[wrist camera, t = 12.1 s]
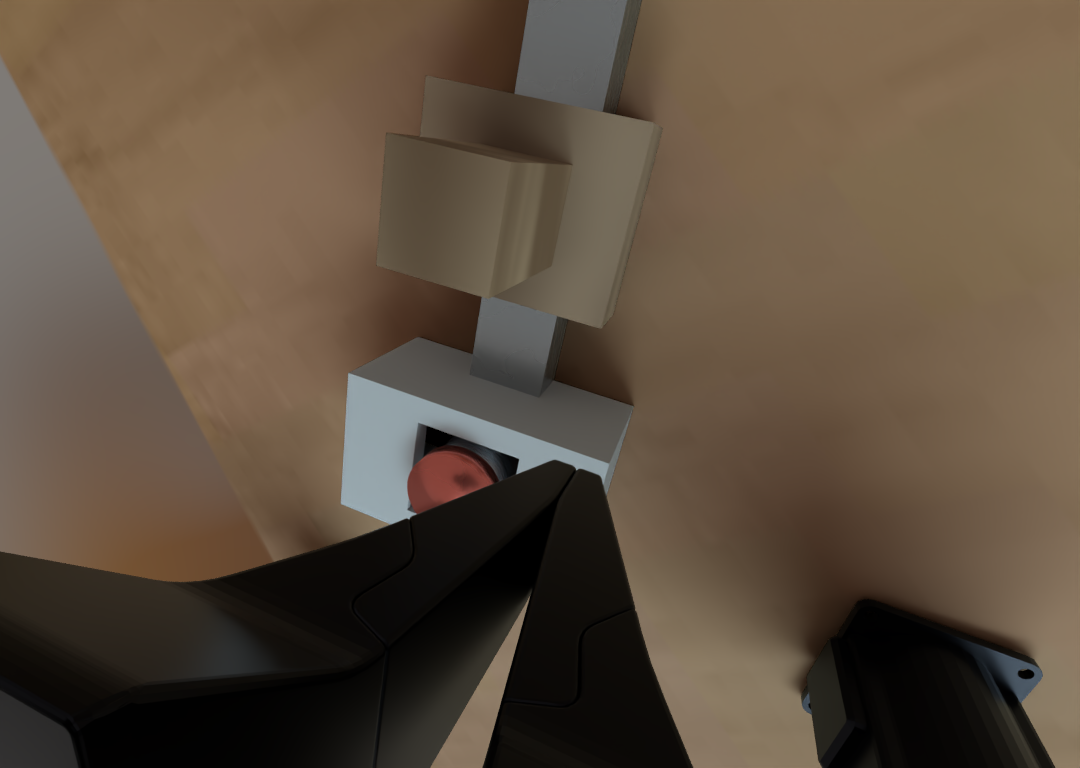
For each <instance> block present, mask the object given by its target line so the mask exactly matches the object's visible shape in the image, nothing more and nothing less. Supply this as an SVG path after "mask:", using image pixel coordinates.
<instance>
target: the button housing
mask: <svg viewBox="0 0 1080 768" xmlns="http://www.w3.org/2000/svg"><path fill="white" fill-rule="evenodd" d="M472 356H473V354H470V353H467V352H464V351H461V350H458V349H454V348H451V347H448V346H445V345H442V344H439V343H436V342H433V341H430V340H426V339H423V338H420V337H417V338H415V339H413V340H411V341H409V342H407V343H405V344H403V345H401V346H399V347H397V348H395V349H394V350H392V351H390V352H388V353H386V354H384V355H382V356H380V357H378V358H376V359H374V360H372V361H370V362H369V363H367V364H365V365H363V366H361V367H359V368H357V369H355V370H353V371H351V372H349V373H348V389H347V407H346V424H345V441H344V458H343V476H342V493H341V504H342V505H345V506H347V507H350V508H352V509H355V510H357V511H360V512H362V513H364V514H367V515H369V516H372V517H374V518H377V519H379V520H382V521H384V522H386V523H389V524H393V523H395V522H398V521H400V520H403V519H405V518H408V519H410V517H411V516H413V515H416V512H415V511H414V509H413V507H412V505H411V503H410V500H409V497H408V492H407V481H408V477H409V474H410V472H411V470H412V468H413V467H414V466H415V465H416V464H417V463H418V462H419V461H420V460H421V459H422V458H423V457H424V456H425V455H426V454H428V453H429V452H430V451H431V450H433V449H435V448H437V447H436V446H434V445H431V444H428V443H425V439H426V431H427V426H429V427H432V428H435V429H438V430H440V431H443V432H446V433H449V434H451V435H454V436H457V437H460V438H463V439H465V440H468V441H471V442H474V443H476V444H479V445H482V446H485V447H488V448H490V449H493V450H496V451H499V452H501V453H504V454H507V455H510V456H513V457H515V458H518V459H519V464H518V468H517V473H516V474H518V473H521V472H523V471H526V470H528V469H531V468H533V467H536V466H538V465H541V464H543V463H546V462H548V461H551V460H559V461H561V462H564V463H567V464H570V465H573V466H574V467H575V468H576V470H578V469H584V470H587V471H590V472H592V473H595V474H598V475H600V476H601V478H602V482H603V485H604V489H605V493H606V496H607V492H608V489H609V486H610V483H611V479H612V476H613V473H614V470H615V466H616V463H617V460H618V456H619V453H620V450H621V447H622V443H623V440H624V437H625V434H626V430H627V427H628V424H629V420H630V417H631V414H632V411H633V407H634V406H631V405H628V404H625V403H622V402H619V401H616V400H613V399H610V398H606V397H603V396H600V395H597V394H594V393H591V392H588V391H585V390H582V389H579V388H575V387H572V386H569V385H566V384H563V383H560V382H557V381H553V382H552V383H551V384H550V386H549V387H548V388H547V389H546V390H545V391H544V392H543V394H542V395H541V396H540V397H539V398H538V397H535V396H532V395H529V394H526V393H523V392H520V391H517V390H514V389H511V388H508V387H505V386H502V385H499V384H496V383H493V382H490V381H487V380H484V379H481V378H478V377H475V376H472V375H470V369H471V362H472Z"/></svg>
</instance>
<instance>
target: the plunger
mask: <svg viewBox="0 0 1080 768" xmlns="http://www.w3.org/2000/svg"><path fill="white" fill-rule="evenodd" d="M518 464H519V459H518V458H515V457H513V456H510V455H507V454H504V453H501V452H499V451H496V450H493V449H490V448H488V447H485V446H482V445H479V444H476V443H474V442H471V441H468V440H465V439H463V438H460V437H457V436H453V437H452V438H451V439H450V440H449V441H448V442H447V443H446V444H445V445H444V446H441V447H437V448H435V449H433V450H431V451H430V452H429V453H428V454H426V455H425V456H424V457H423V458H422V459H421V460H420V461H419V462H418V463H417V464H416V465H415V466H414V467H413V468H412V470H411V472H410V474H409V477H408V481H407V492H408V497H409V500H410V503H411V505H412V507H413V509H414V511H415V512H416V514H418V513H421V512H423V511H426V510H428V509H431V508H433V507H436V506H438V505H441V504H443V503H446V502H448V501H451V500H453V499H456V498H458V497H461V496H463V495H466V494H468V493H471V492H473V491H476V490H478V489H481V488H483V487H486V486H488V485H491V484H493V483H496V482H498V481H501V480H503V479H506V478H508V477H511V476H513V475H516V473H517V468H518Z"/></svg>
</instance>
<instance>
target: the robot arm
mask: <svg viewBox="0 0 1080 768" xmlns="http://www.w3.org/2000/svg"><path fill="white" fill-rule="evenodd" d="M530 595H531V596H530ZM529 596H530V599H529V603H528V606H527V610H526V614H525V617H524V621H523V625H522V628H521V632H520V636H519V639H518V643H517V646H516V650H515V654H514V657H513V661H512V665H511V668H510V672H509V675H508V679H507V683H506V686H505V690H504V694H503V697H502V701H501V705H500V709H499V712H498V715H497V719H496V723H495V726H494V730H493V733H492V737H491V740H490V744H489V748H488V751H487V754H486V758H485V761H484V764H483V768H693V766H692V764H691V761H690V759H689V756H688V754H687V752H686V749H685V747H684V744H683V742H682V739H681V737H680V735H679V732H678V730H677V727H676V725H675V722H674V720H673V718H672V715H671V713H670V710H669V708H668V705H667V703H666V701H665V698H664V695H663V693H662V690H661V688H660V685H659V682H658V680H657V677H656V674H655V672H654V669H653V667H652V664H651V661H650V658H649V654H648V651H647V648H646V644H645V641H644V638H643V635H642V631H641V627H640V623H639V619H638V616H637V612H636V611H635V605H634V601H633V597H632V593H631V590H630V586H629V582H628V578H627V574H626V570H625V566H624V563H623V559H622V555H621V551H620V547H619V543H618V539H617V536H616V532H615V528H614V524H613V520H612V516H611V512H610V509H609V505H608V501H607V497H606V493H605V489H604V485H603V482H602V478H601V476H600V475H598V474H595V473H592V472H590V471H587V470H584V469H578V470H576V468H575V467H574V466H573V465H570V464H567V463H564V462H561V461H559V460H551V461H548V462H546V463H543V464H541V465H538V466H536V467H533V468H531V469H528V470H526V471H523V472H521V473H518V474H516V475H513V476H511V477H508V478H506V479H503V480H501V481H498V482H496V483H493V484H491V485H488V486H486V487H483V488H481V489H478V490H476V491H473V492H471V493H468V494H466V495H463V496H461V497H458V498H456V499H453V500H451V501H448V502H446V503H443V504H441V505H438V506H436V507H433V508H431V509H428V510H426V511H423V512H421V513H418V514H416V515H413V516H411V517H410V519H408V518H405V519H403V520H400V521H398V522H395V523H393V524H390V525H388V526H385V527H383V528H380V529H377V530H374V531H372V532H369V533H366V534H364V535H361V536H358V537H355V538H352V539H349V540H346V541H343V542H339V543H336V544H333V545H330V546H327V547H324V548H320V549H317V550H313V551H310V552H307V553H303V554H300V555H296V556H293V557H290V558H286V559H283V560H279V561H276V562H272V563H269V564H266V565H262V566H259V567H256V568H252V569H248V570H245V571H242V572H238V573H235V574H231V575H227V576H223V577H220V578H215V579H210V580H203V581H193V582H167V581H160V580H153V579H147V578H142V577H136V576H131V575H126V574H120V573H115V572H109V571H104V570H98V569H92V568H87V567H81V566H76V565H70V564H66V563H60V562H54V561H49V560H44V559H38V558H33V557H27V556H21V555H16V554H11V553H5V552H0V768H430V767H431V765H432V763H433V762H434V760H435V758H436V757H437V755H438V753H439V751H440V750H441V748H442V746H443V745H444V743H445V741H446V739H447V738H448V736H449V734H450V733H451V731H452V729H453V727H454V726H455V724H456V722H457V721H458V719H459V717H460V715H461V714H462V712H463V710H464V709H465V707H466V705H467V703H468V702H469V700H470V698H471V697H472V695H473V693H474V691H475V690H476V688H477V686H478V685H479V683H480V681H481V679H482V678H483V676H484V674H485V673H486V671H487V669H488V667H489V666H490V664H491V662H492V661H493V659H494V657H495V655H496V654H497V652H498V650H499V649H500V647H501V645H502V643H503V642H504V640H505V638H506V637H507V635H508V633H509V631H510V630H511V628H512V626H513V625H514V623H515V621H516V619H517V618H518V616H519V614H520V613H521V611H522V609H523V607H524V606H525V604H526V602H527V600H528V598H529ZM868 611H872V612H875V613H873V614H870V615H869V614H865V612H868ZM1021 669H1027V670H1024V671H1019V670H1021ZM1042 676H1043V674H1042V671H1041V669H1040V668H1039V666H1038V664H1037V663H1036V662H1035V660H1034V659H1032V658H1030V657H1028V656H1026V655H1023V654H1020V653H1017V652H1015V651H1012V650H1009V649H1006V648H1004V647H1001V646H998V645H995V644H993V643H990V642H987V641H984V640H982V639H979V638H976V637H973V636H971V635H968V634H965V633H962V632H960V631H957V630H954V629H951V628H949V627H946V626H943V625H941V624H938V623H935V622H932V621H930V620H927V619H924V618H921V617H919V616H916V615H913V614H910V613H908V612H905V611H902V610H899V609H897V608H894V607H891V606H888V605H886V604H883V603H880V602H877V601H875V600H870V599H863V600H861V601H858V602H857V603H856V604H855V606H854V608H853V609H852V611H851V613H850V614H849V616H848V618H847V619H846V621H845V623H844V624H843V626H842V628H841V629H840V631H839V633H838V634H837V636H834V637H832V638H830V639H829V640H828V642H827V643H826V645H825V647H824V648H823V650H822V652H821V653H820V655H819V657H818V658H817V660H816V662H815V663H814V665H813V667H812V669H811V670H810V672H809V674H808V675H807V686H806V688H805V690H804V691H803V693H802V695H801V700H802V706H803V709H804V710H805V711H806V712H808V713H810V714H812V720H813V727H814V734H815V740H816V747H817V754H818V761H819V763H820V765H821V767H822V768H1055V766H1054V764H1053V762H1052V760H1051V759H1050V757H1049V755H1048V753H1047V751H1046V749H1045V747H1044V746H1043V744H1042V742H1041V740H1040V738H1039V736H1038V735H1037V733H1036V731H1035V729H1034V727H1033V725H1032V723H1031V722H1030V720H1029V718H1028V716H1027V714H1026V712H1025V711H1024V709H1023V707H1022V705H1021V702H1022V701H1023V700H1024V699H1025V698H1026V696H1027V695H1028V694H1029V693H1030V692H1031V691H1032V689H1033V688H1034V687H1035V686H1036V685H1037V684H1038V682H1039V681H1040V680H1041V678H1042Z"/></svg>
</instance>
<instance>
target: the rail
mask: <svg viewBox="0 0 1080 768" xmlns="http://www.w3.org/2000/svg"><path fill="white" fill-rule="evenodd" d="M641 1H642V0H529V5H528V11H527V18H526V24H525V30H524V37H523V43H522V49H521V55H520V62H519V68H518V74H517V80H516V87H515V93H514V94H518V95H523V96H528V97H533V98H538V99H542V100H547V101H552V102H557V103H562V104H567V105H571V106H576V107H581V108H586V109H591V110H595V111H600V112H605V113H610V114H616V110H617V105H618V101H619V97H620V92H621V88H622V84H623V79H624V75H625V71H626V66H627V62H628V58H629V53H630V49H631V45H632V40H633V36H634V32H635V27H636V23H637V19H638V14H639V10H640V6H641ZM567 321H568V319H566V318H562V317H559V316H555V315H552V314H549V313H545V312H542V311H539V310H535V309H532V308H528V307H525V306H522V305H518V304H515V303H511V302H508V301H505V300H501V299H498V298H495V297H491V298H489V299H487V298H483V297H482V300H481V306H480V312H479V318H478V325H477V331H476V337H475V344H474V350H473V356H472V362H471V369H470V375H472V376H475V377H478V378H481V379H484V380H487V381H490V382H493V383H496V384H499V385H502V386H505V387H508V388H511V389H514V390H517V391H520V392H523V393H526V394H529V395H532V396H535V397H538V398H539V397H540V396H541V395H542V394H543V392H544V391H545V390H546V389H547V388H548V387H549V386H550V384H551V383H552V382H553V381H554V377H555V373H556V369H557V365H558V360H559V356H560V352H561V347H562V343H563V339H564V334H565V330H566V326H567Z"/></svg>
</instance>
